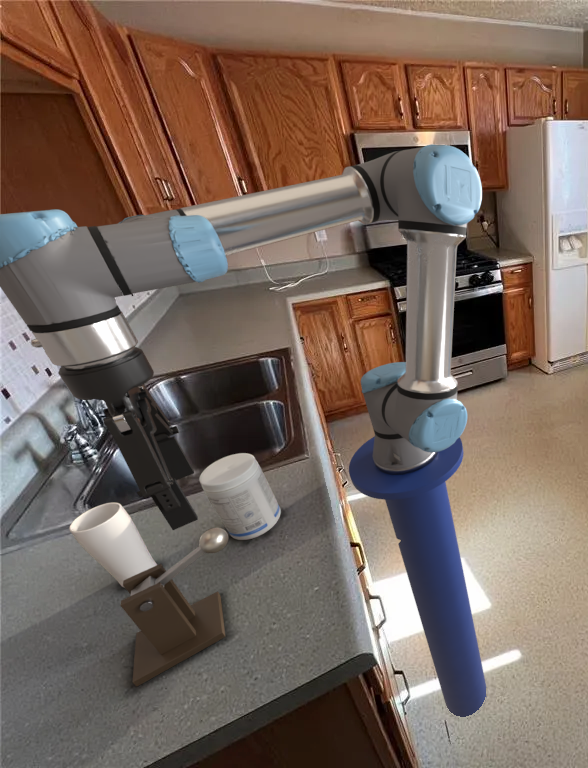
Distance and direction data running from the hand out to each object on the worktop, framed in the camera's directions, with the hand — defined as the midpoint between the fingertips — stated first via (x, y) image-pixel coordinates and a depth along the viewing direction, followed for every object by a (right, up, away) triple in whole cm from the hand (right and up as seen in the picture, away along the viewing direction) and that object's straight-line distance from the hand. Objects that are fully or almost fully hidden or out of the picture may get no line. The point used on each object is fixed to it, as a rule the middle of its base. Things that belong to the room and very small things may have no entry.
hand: (184, 498), depth 58 cm
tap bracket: (-5, -23, +6) cm, 25 cm away
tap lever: (-2, -12, +4) cm, 13 cm away
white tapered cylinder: (-21, -19, +17) cm, 34 cm away
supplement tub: (-6, -13, +27) cm, 30 cm away
